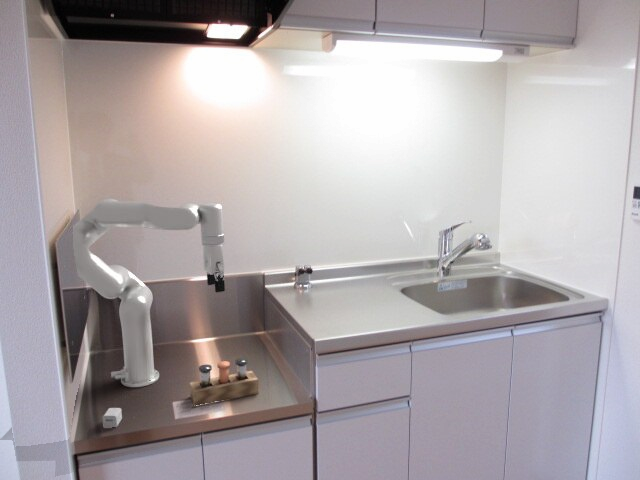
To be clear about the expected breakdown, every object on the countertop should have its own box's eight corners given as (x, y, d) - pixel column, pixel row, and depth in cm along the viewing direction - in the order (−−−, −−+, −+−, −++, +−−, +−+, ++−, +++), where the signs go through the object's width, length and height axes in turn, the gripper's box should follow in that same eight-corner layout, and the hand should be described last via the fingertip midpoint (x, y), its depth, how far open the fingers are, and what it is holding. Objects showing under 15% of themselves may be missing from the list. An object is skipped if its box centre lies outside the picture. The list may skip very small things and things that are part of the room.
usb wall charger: (103, 428, 149) (102, 415, 148) (111, 415, 156) (110, 403, 155) (117, 428, 149) (116, 415, 148) (125, 415, 156) (124, 403, 155)
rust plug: (219, 387, 165) (219, 367, 164) (216, 381, 169) (216, 362, 167) (231, 384, 167) (231, 365, 165) (228, 379, 170) (228, 360, 169)
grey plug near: (201, 390, 163) (200, 370, 161) (198, 385, 166) (197, 365, 165) (213, 388, 164) (212, 368, 163) (210, 382, 168) (209, 363, 166)
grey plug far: (237, 383, 168) (237, 364, 166) (234, 378, 171) (233, 359, 170) (249, 381, 169) (249, 361, 168) (246, 376, 173) (245, 357, 171)
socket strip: (194, 406, 161) (194, 392, 160) (190, 396, 167) (189, 382, 166) (258, 393, 170) (258, 379, 169) (252, 384, 176) (251, 370, 175)
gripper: (195, 236, 180) (199, 283, 184) (208, 245, 165) (212, 296, 169) (216, 234, 183) (219, 280, 187) (231, 243, 168) (234, 292, 172)
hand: (216, 288), depth 178 cm, fingers open, 9 cm apart
